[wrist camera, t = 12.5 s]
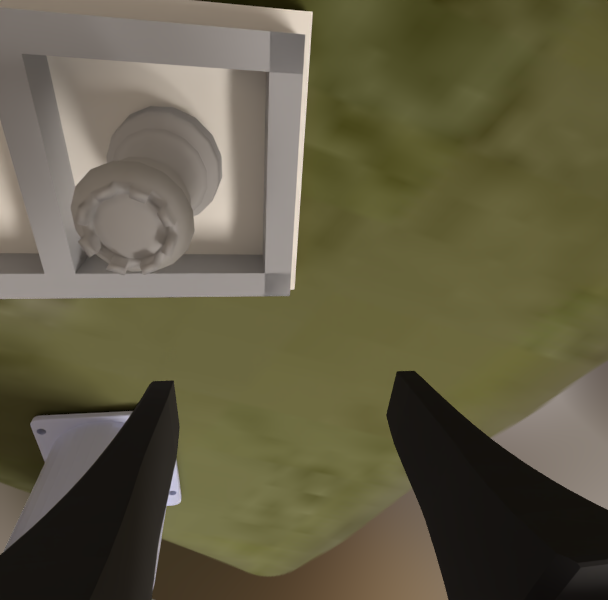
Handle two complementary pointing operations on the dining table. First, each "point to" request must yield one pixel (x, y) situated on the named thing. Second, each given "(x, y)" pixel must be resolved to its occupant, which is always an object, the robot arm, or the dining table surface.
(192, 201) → the rook chess piece
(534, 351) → the dining table surface
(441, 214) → the dining table surface
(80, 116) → the pocket tray
